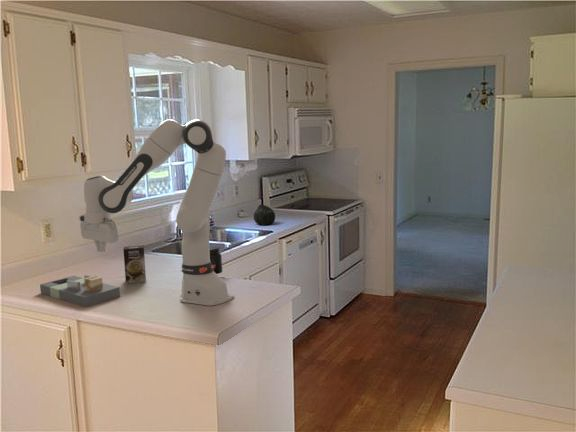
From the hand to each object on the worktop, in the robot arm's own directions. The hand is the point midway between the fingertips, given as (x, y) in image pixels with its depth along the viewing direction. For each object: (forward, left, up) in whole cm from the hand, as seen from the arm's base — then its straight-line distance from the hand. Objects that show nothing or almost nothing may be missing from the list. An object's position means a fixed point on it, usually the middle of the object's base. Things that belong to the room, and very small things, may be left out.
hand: (101, 251), depth 214 cm
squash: (+54, -167, -21) cm, 177 cm away
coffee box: (+14, -26, -21) cm, 37 cm away
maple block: (+7, 0, -17) cm, 19 cm away
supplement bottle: (-7, -56, -21) cm, 60 cm away
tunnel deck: (+18, 0, -21) cm, 28 cm away
